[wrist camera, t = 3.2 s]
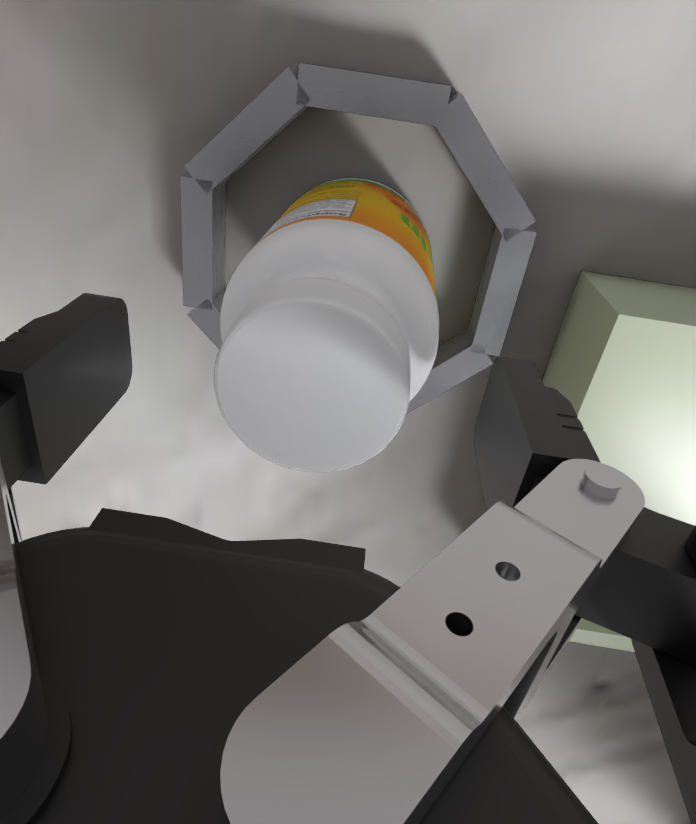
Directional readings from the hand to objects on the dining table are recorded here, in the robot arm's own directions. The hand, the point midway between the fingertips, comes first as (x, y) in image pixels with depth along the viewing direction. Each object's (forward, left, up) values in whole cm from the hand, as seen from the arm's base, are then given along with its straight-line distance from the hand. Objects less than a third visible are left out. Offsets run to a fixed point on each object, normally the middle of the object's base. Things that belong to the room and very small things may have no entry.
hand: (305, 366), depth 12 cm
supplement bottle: (0, 0, -9) cm, 9 cm away
